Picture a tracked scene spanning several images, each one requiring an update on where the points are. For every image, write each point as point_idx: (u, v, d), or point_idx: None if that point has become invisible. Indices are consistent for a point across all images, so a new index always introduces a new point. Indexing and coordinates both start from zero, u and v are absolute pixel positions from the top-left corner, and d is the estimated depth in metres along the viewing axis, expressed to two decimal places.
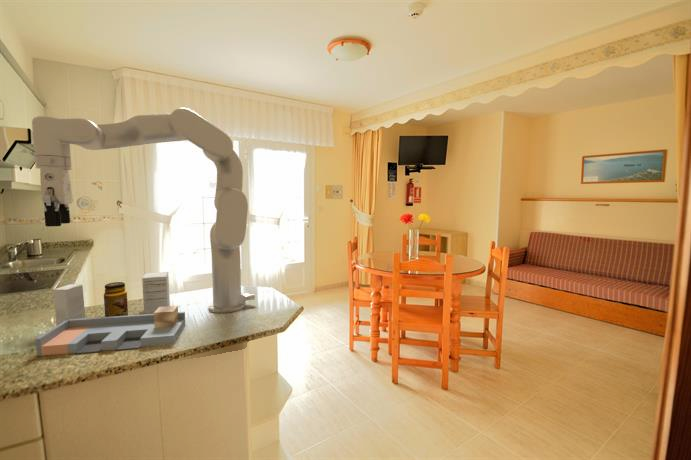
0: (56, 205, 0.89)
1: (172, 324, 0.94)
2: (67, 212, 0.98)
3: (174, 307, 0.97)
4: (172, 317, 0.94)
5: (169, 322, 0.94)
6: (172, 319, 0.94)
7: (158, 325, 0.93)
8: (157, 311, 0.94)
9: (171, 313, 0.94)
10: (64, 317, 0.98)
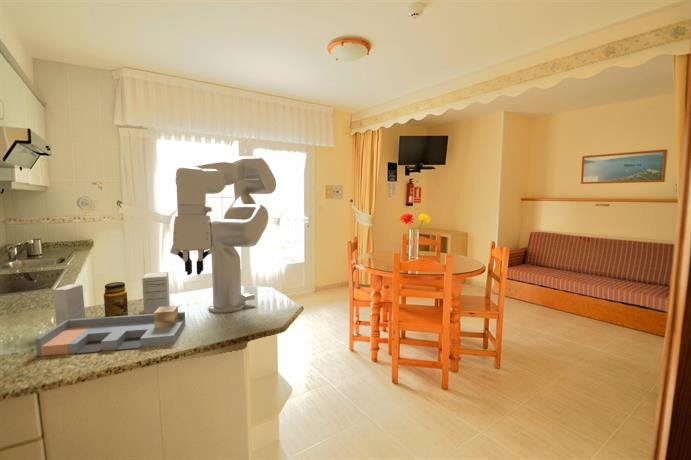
0: None
1: (172, 324, 0.94)
2: (191, 262, 0.97)
3: (174, 307, 0.97)
4: (172, 317, 0.94)
5: (169, 322, 0.94)
6: (172, 319, 0.94)
7: (158, 325, 0.93)
8: (157, 311, 0.94)
9: (171, 313, 0.94)
10: (64, 317, 0.98)
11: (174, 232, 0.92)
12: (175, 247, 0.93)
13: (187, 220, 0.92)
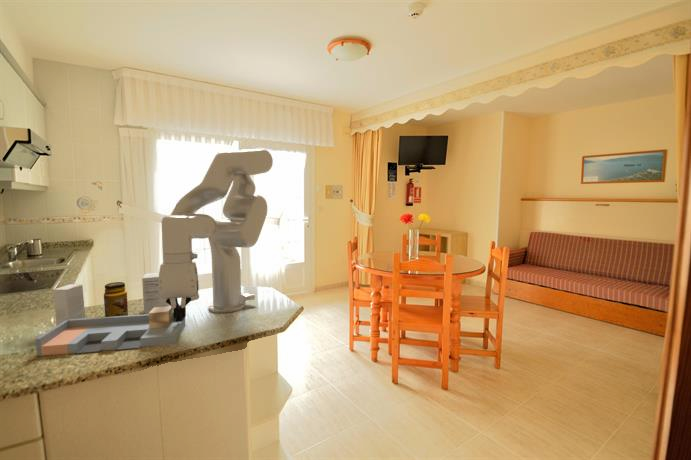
0: None
1: (167, 324, 0.94)
2: (180, 307, 0.98)
3: (169, 307, 0.97)
4: (167, 317, 0.94)
5: (164, 322, 0.94)
6: (167, 319, 0.94)
7: (153, 325, 0.93)
8: (152, 311, 0.93)
9: (166, 313, 0.94)
10: (64, 317, 0.98)
11: (159, 281, 0.92)
12: (160, 295, 0.93)
13: (173, 268, 0.93)
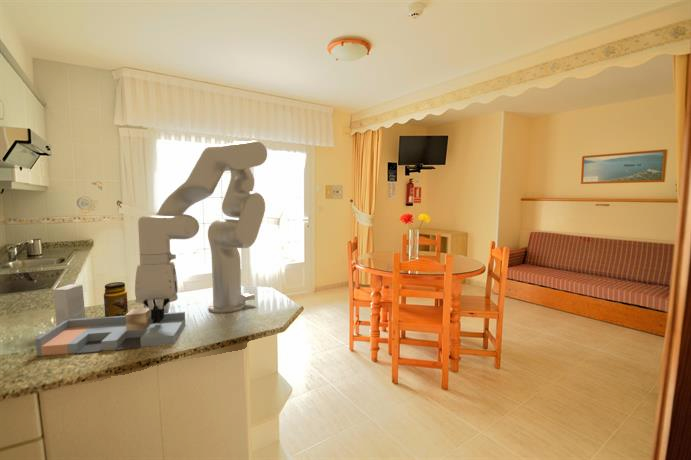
0: None
1: (144, 326, 0.93)
2: None
3: (147, 309, 0.95)
4: (144, 319, 0.92)
5: (141, 324, 0.92)
6: (144, 321, 0.92)
7: (130, 327, 0.92)
8: (129, 313, 0.92)
9: (143, 315, 0.92)
10: (64, 317, 0.98)
11: (136, 282, 0.91)
12: (137, 296, 0.92)
13: (150, 269, 0.91)
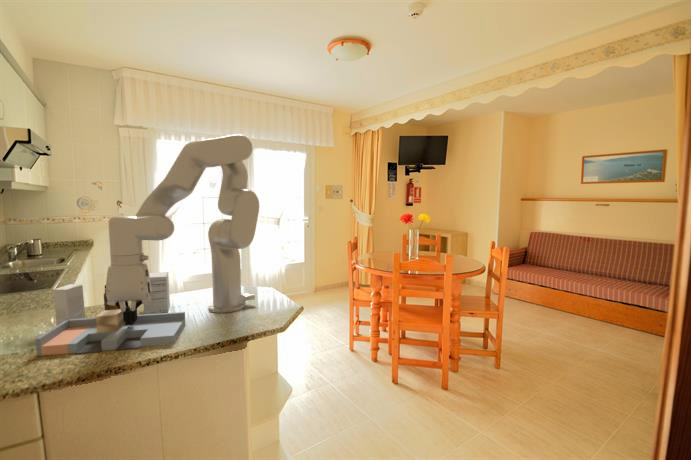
0: None
1: (116, 328, 0.91)
2: None
3: (119, 310, 0.94)
4: (116, 321, 0.91)
5: (112, 326, 0.91)
6: (116, 323, 0.91)
7: (101, 329, 0.90)
8: (100, 315, 0.90)
9: (114, 317, 0.91)
10: (64, 317, 0.98)
11: (107, 283, 0.90)
12: (108, 298, 0.90)
13: (121, 271, 0.90)
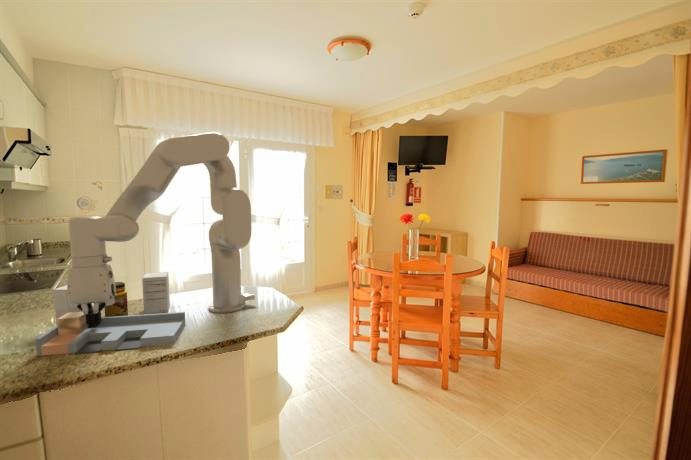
0: None
1: (78, 331, 0.89)
2: None
3: None
4: (78, 324, 0.89)
5: (74, 329, 0.89)
6: (78, 326, 0.89)
7: (63, 332, 0.88)
8: (61, 317, 0.88)
9: (76, 319, 0.89)
10: None
11: (68, 285, 0.87)
12: (69, 300, 0.88)
13: (82, 272, 0.87)
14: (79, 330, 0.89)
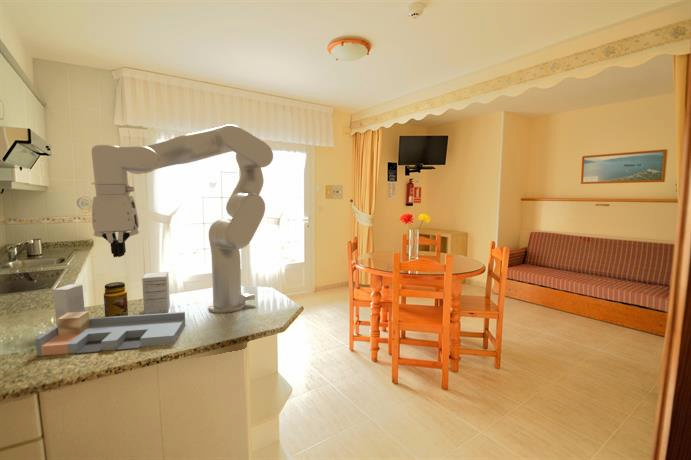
0: None
1: (78, 331, 0.89)
2: None
3: (83, 313, 0.92)
4: (78, 324, 0.89)
5: (74, 329, 0.89)
6: (78, 326, 0.89)
7: (63, 332, 0.88)
8: (61, 317, 0.88)
9: (76, 319, 0.89)
10: None
11: (93, 213, 0.89)
12: (95, 229, 0.90)
13: (106, 200, 0.89)
14: (79, 330, 0.89)
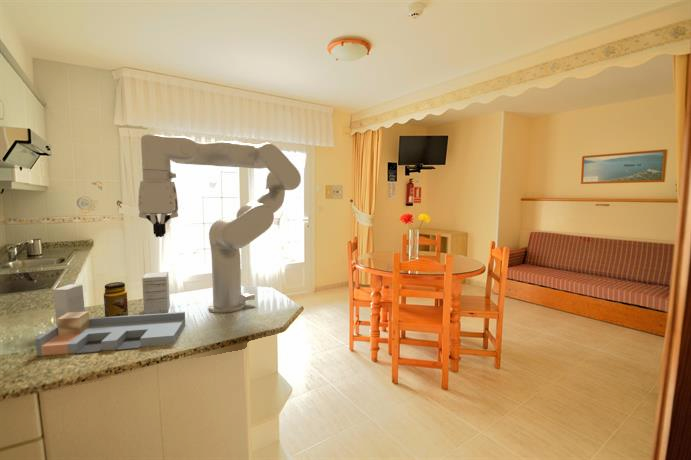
0: None
1: (78, 331, 0.89)
2: None
3: (83, 313, 0.92)
4: (78, 324, 0.89)
5: (74, 329, 0.89)
6: (78, 326, 0.89)
7: (63, 332, 0.88)
8: (61, 317, 0.88)
9: (76, 319, 0.89)
10: None
11: (139, 196, 0.98)
12: (140, 210, 0.99)
13: (152, 184, 0.98)
14: (79, 330, 0.89)
